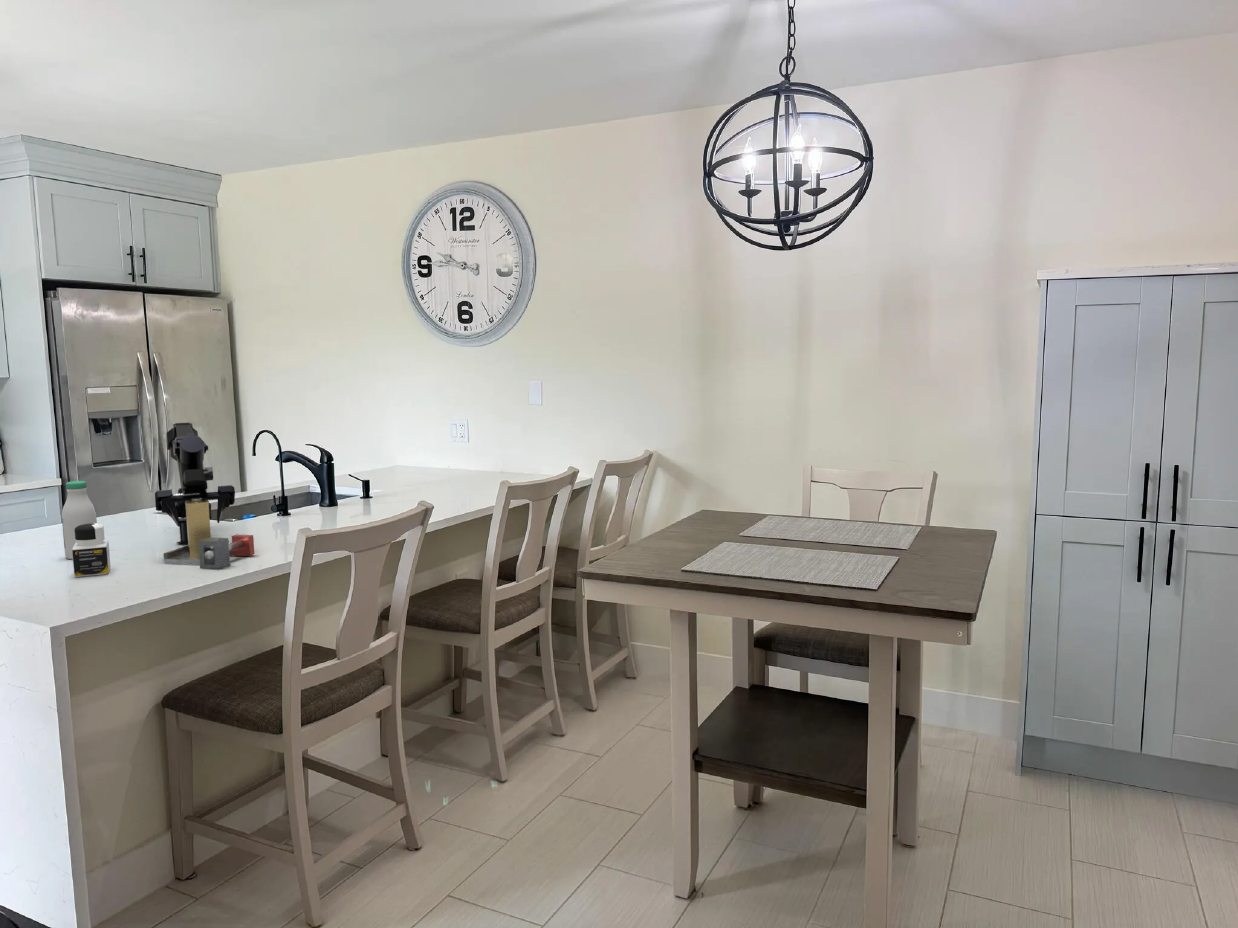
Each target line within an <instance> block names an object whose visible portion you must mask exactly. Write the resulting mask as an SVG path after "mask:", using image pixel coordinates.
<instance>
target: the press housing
mask: <svg viewBox="0 0 1238 928" xmlns="http://www.w3.org/2000/svg"><path fill="white" fill-rule="evenodd" d="M229 544H230V542H229V537H212V536H211V537H209V538H205V539H202V540H199V553H200V565H199V567H200V568H199V569H208V570H209V569H210V570H211V569H212V570H222V569H224V568H227V567H229V566H231V560H230V558H231V557H229ZM213 549H214V554H215V557H214V558H211V559H206V558H205V556H204V554H205V552H207V551H210V550H213Z"/></svg>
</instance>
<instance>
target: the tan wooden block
mask: <svg viewBox="0 0 1238 928" xmlns="http://www.w3.org/2000/svg"><path fill="white" fill-rule="evenodd" d="M208 502H209V500H208V501H207V499H202V498H192V499H191V500H190V501H185V505H186V519H187V533H188V544H187V545H188V547H189V555H190V557H200V553H199V540H202V539H205V538H209V537H212V534H211V520H210V518H209V503H210V502H209V503H208Z"/></svg>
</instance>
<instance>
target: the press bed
mask: <svg viewBox="0 0 1238 928" xmlns="http://www.w3.org/2000/svg"><path fill="white" fill-rule="evenodd" d="M229 557H230V558H231V557H234V556H233V551H231V552H229ZM163 563H164V564H167V565H183V564H188V565H189V566H200V557H190V555H189V547H188V544H186V545H185V546H181V547H178V548H175V549H173V550H168V551H166V552H163Z"/></svg>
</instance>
